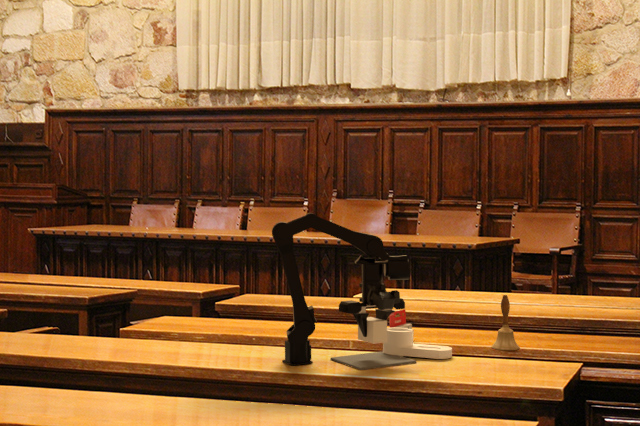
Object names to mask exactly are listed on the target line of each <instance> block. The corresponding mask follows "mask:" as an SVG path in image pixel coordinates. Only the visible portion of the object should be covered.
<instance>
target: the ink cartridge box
mask: <svg viewBox="0 0 640 426" xmlns="http://www.w3.org/2000/svg"><path fill="white" fill-rule="evenodd" d="M397 314H398V315H399V316H396V315H397ZM406 315H407V313H406V308H405V309H399V310H395V312H394V313H391V314H390V315H389V316H388V322H389V324H388V325H389V328H408V329H412V330H413V324H412V323H407V316H406Z"/></svg>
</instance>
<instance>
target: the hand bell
mask: <svg viewBox="0 0 640 426" xmlns="http://www.w3.org/2000/svg"><path fill="white" fill-rule="evenodd" d="M510 307H511V303H510V300H509V297H508V294H503V295H502V298H501V301H500V311H501V314H502V327H501V328H500V329H498V330H497V337H496V339H495V342H494V343H493V344H492V345H491V348H492V349H494V350H498V351H516V350H520V349H521V348H520V346H519V344H517V341H516V339H515V336H514V335H515V334H514V330H513V329H511V328H510V326H509V313H510V309H511V308H510Z"/></svg>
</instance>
